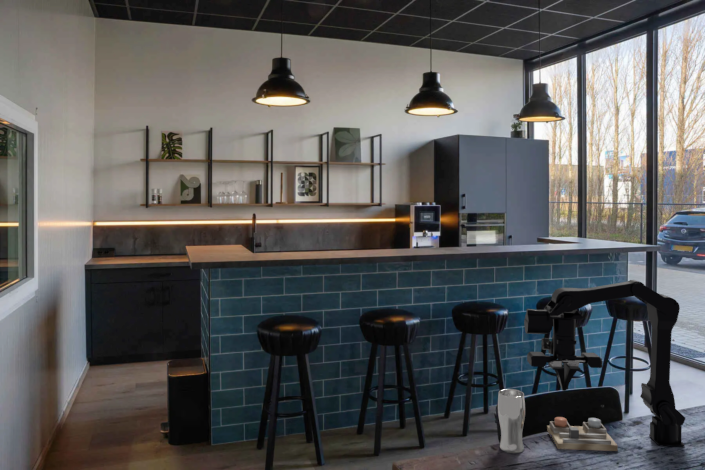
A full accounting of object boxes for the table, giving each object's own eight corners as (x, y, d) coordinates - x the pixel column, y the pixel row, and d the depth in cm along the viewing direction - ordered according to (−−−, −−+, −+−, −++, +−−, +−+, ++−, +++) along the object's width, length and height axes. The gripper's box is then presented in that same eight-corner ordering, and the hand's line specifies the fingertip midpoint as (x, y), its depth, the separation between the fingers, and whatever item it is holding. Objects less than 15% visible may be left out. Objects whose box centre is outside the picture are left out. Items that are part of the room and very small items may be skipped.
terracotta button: (565, 422, 151) (565, 417, 151) (568, 427, 148) (568, 421, 148) (553, 422, 152) (553, 416, 152) (556, 426, 149) (556, 421, 149)
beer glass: (528, 454, 139) (528, 397, 138) (501, 454, 139) (501, 397, 139) (520, 442, 146) (520, 388, 145) (495, 442, 146) (494, 388, 146)
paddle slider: (576, 437, 144) (576, 427, 144) (578, 440, 142) (578, 430, 142) (569, 437, 144) (568, 427, 144) (571, 440, 143) (571, 430, 142)
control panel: (602, 432, 152) (602, 421, 151) (617, 451, 140) (617, 439, 140) (547, 430, 153) (547, 420, 153) (558, 449, 142) (557, 437, 141)
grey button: (598, 423, 150) (598, 417, 150) (602, 428, 147) (602, 422, 147) (586, 423, 151) (586, 417, 151) (590, 427, 147) (590, 422, 147)
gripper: (589, 328, 154) (588, 381, 155) (523, 327, 156) (522, 380, 157) (603, 337, 143) (602, 394, 144) (532, 336, 145) (531, 393, 146)
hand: (563, 390), depth 148 cm, fingers closed
